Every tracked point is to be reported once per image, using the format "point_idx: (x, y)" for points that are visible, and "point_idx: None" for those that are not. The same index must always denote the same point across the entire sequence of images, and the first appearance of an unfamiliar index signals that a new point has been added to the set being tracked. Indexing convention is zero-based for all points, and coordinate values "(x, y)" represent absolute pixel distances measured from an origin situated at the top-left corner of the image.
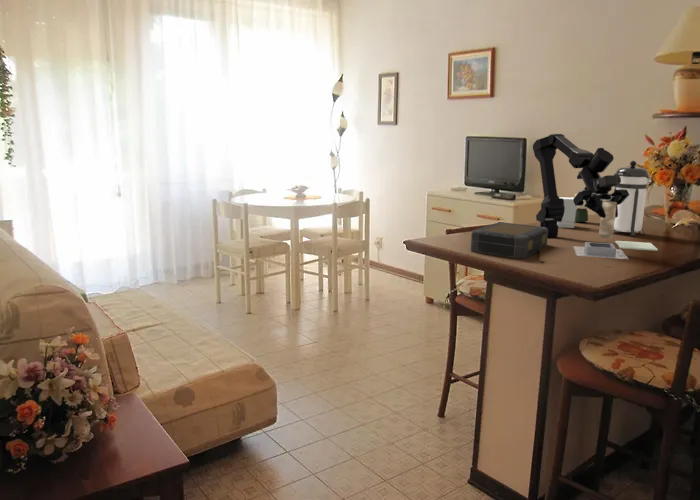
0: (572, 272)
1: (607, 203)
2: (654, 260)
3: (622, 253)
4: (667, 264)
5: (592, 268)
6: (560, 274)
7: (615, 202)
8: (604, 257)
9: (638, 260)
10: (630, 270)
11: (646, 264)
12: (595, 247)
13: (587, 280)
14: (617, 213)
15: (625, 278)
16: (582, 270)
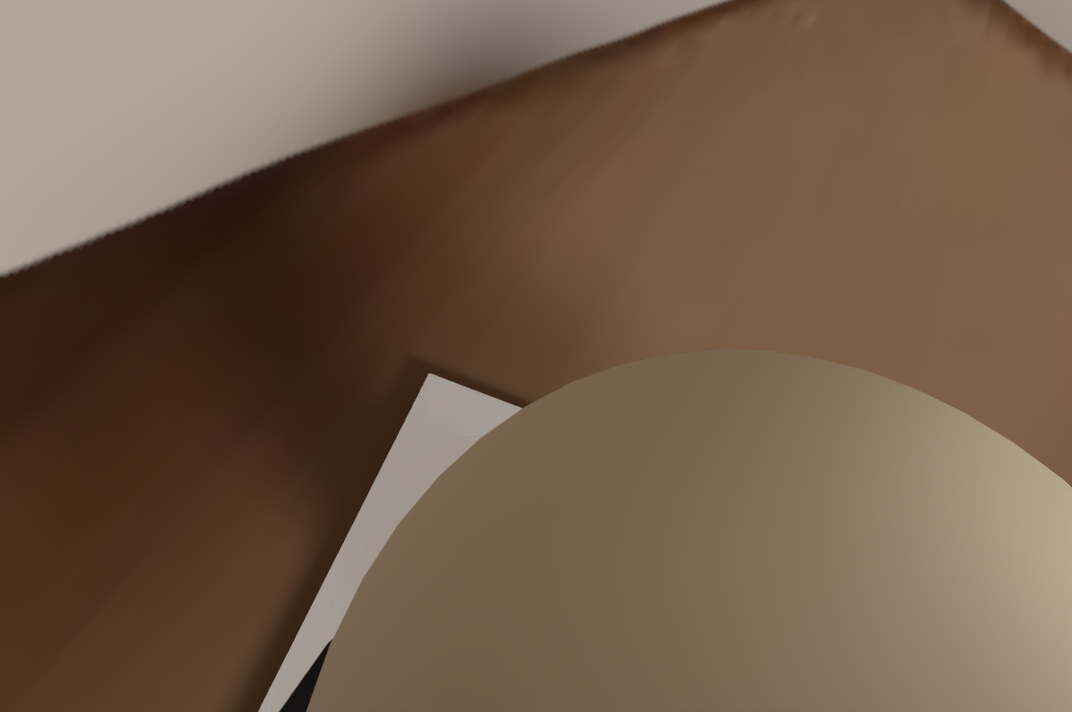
0: (982, 158)
1: (1008, 471)
2: (93, 441)
3: (317, 646)
4: (111, 290)
5: (827, 229)
6: (1057, 130)
7: (446, 596)
8: None
9: (273, 449)
10: (572, 163)
11: (315, 303)
12: None
13: (923, 29)
14: (309, 688)
15: (700, 33)
16: (910, 191)
